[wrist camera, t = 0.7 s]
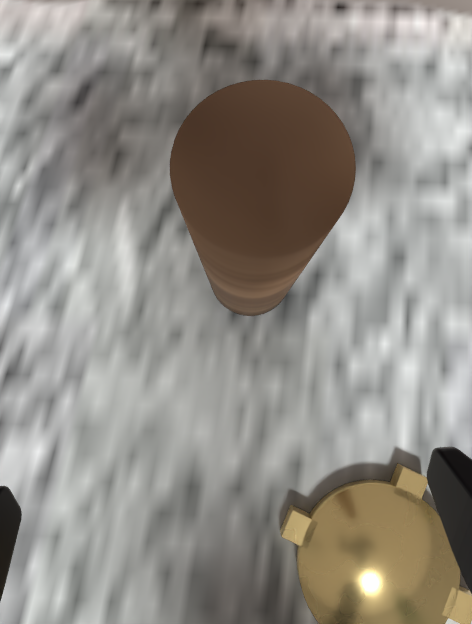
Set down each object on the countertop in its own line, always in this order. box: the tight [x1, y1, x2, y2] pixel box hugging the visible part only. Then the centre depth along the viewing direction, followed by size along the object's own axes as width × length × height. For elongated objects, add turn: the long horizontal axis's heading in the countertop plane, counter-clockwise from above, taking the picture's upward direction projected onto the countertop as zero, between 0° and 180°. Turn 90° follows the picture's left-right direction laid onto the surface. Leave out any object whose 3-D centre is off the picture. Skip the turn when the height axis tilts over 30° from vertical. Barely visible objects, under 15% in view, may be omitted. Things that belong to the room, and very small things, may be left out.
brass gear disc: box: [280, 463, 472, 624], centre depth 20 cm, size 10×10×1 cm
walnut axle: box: [170, 80, 356, 316], centre depth 16 cm, size 4×4×13 cm
